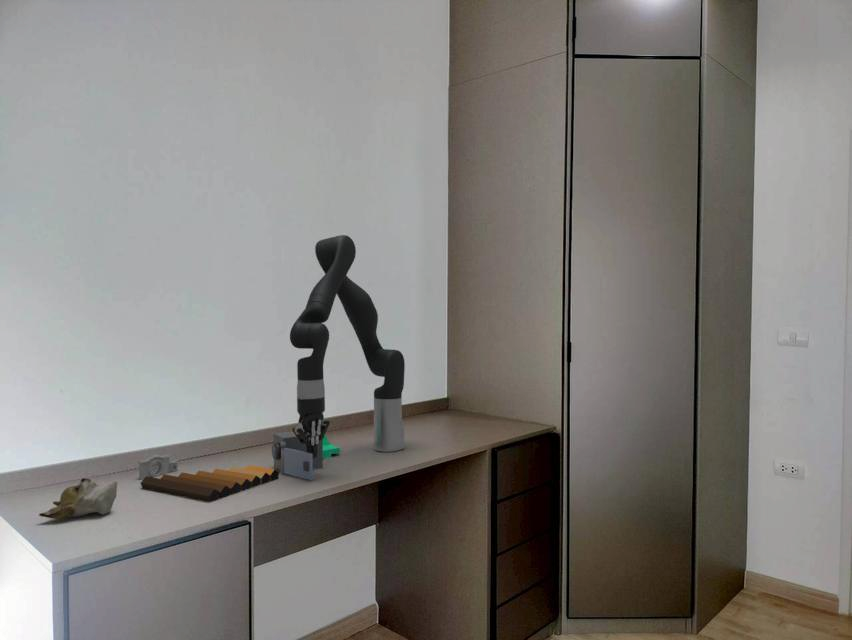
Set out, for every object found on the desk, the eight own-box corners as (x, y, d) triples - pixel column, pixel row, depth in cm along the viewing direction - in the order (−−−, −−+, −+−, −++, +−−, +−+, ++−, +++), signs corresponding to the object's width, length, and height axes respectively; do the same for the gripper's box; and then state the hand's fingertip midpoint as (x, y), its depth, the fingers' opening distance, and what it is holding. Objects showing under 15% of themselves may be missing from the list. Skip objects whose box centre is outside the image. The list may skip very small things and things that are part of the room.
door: (313, 478, 173) (313, 453, 173) (308, 480, 172) (308, 454, 171) (283, 471, 181) (283, 447, 180) (279, 472, 179) (279, 448, 179)
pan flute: (140, 490, 166) (209, 504, 154) (140, 477, 166) (209, 490, 154) (214, 469, 187) (279, 480, 176) (214, 457, 187) (279, 467, 175)
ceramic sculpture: (110, 480, 141) (35, 489, 137) (113, 519, 141) (38, 528, 138) (121, 469, 151) (52, 477, 148) (124, 505, 152) (55, 513, 148)
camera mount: (308, 461, 195) (308, 428, 195) (295, 457, 201) (295, 424, 201) (340, 455, 203) (340, 423, 203) (328, 451, 209) (327, 420, 209)
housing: (311, 461, 194) (311, 426, 194) (325, 468, 186) (324, 431, 186) (269, 467, 187) (269, 431, 187) (281, 475, 179) (281, 436, 179)
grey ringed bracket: (175, 470, 185) (174, 449, 185) (179, 470, 184) (178, 450, 184) (137, 479, 175) (137, 458, 175) (141, 480, 174) (141, 458, 174)
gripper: (317, 391, 182) (318, 450, 183) (283, 397, 171) (284, 461, 172) (337, 393, 178) (338, 454, 179) (304, 400, 167) (305, 465, 168)
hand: (312, 457), depth 175 cm, fingers closed
